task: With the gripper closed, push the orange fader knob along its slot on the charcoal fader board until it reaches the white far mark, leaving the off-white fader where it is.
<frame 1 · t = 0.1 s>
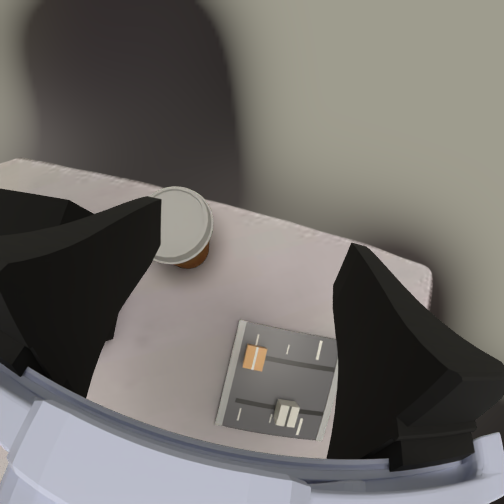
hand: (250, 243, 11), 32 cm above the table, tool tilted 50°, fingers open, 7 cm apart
fader board: (281, 383, 39), on the table
disposable coffee cup: (188, 248, 43), on the table
fader a: (285, 413, 35), point 3 cm above the table, slide at 6.0 cm
fader b: (254, 357, 36), point 3 cm above the table, slide at 0.0 cm
uninterruptible power supply: (52, 272, 41), on the table
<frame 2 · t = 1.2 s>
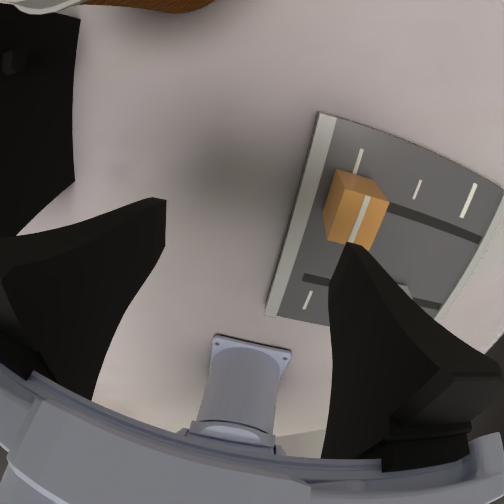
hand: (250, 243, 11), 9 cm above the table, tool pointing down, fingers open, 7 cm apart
fader board: (389, 248, 20), on the table
fader a: (390, 313, 19), point 3 cm above the table, slide at 6.0 cm
fader b: (352, 207, 16), point 3 cm above the table, slide at 0.0 cm
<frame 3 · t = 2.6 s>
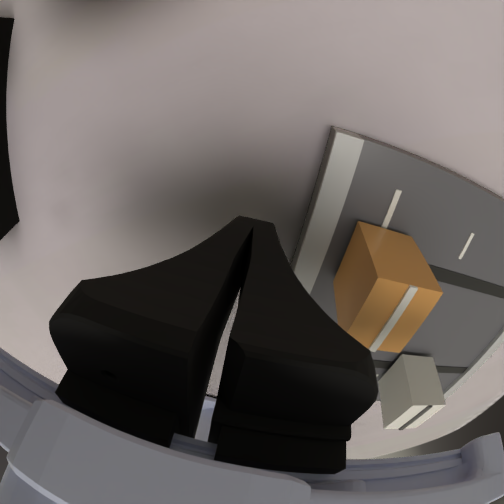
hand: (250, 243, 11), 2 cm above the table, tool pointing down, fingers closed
fader board: (416, 312, 14), on the table
fader a: (410, 393, 14), point 3 cm above the table, slide at 6.0 cm
fader b: (381, 287, 10), point 3 cm above the table, slide at 0.0 cm
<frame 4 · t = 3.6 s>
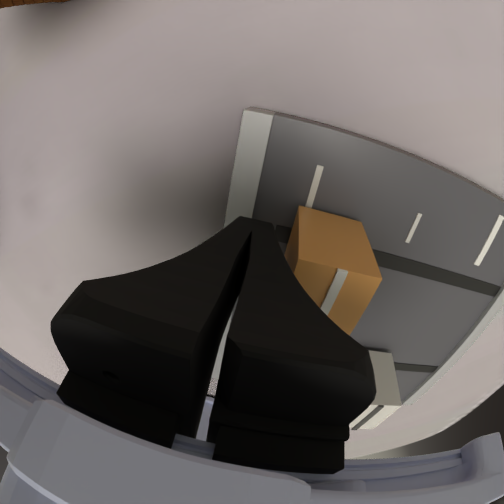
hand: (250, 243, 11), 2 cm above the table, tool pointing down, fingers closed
fader board: (369, 304, 14), on the table
fader a: (364, 391, 14), point 3 cm above the table, slide at 6.0 cm
fader b: (321, 274, 10), point 3 cm above the table, slide at 0.9 cm, touching gripper
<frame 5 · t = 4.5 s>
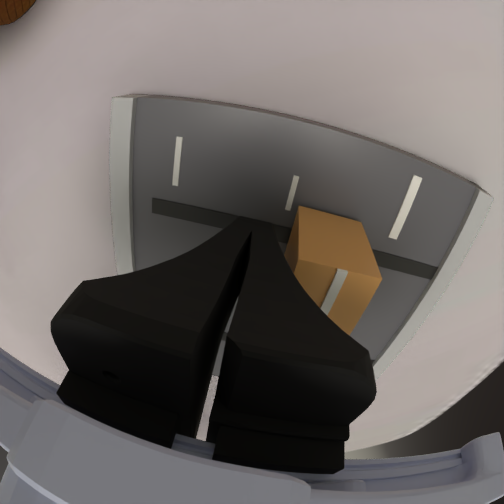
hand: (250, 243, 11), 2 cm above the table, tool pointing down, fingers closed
fader board: (275, 283, 15), on the table
fader b: (321, 274, 10), point 3 cm above the table, slide at 6.1 cm, touching gripper
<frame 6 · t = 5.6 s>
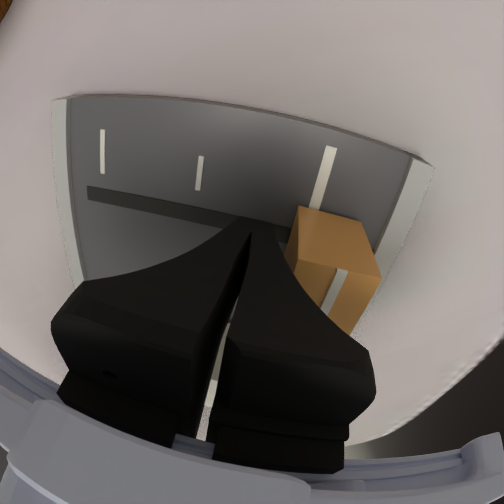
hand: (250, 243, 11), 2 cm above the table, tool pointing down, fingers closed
fader board: (206, 267, 15), on the table
fader a: (204, 363, 14), point 3 cm above the table, slide at 6.0 cm
fader b: (321, 274, 10), point 3 cm above the table, slide at 9.6 cm, touching gripper
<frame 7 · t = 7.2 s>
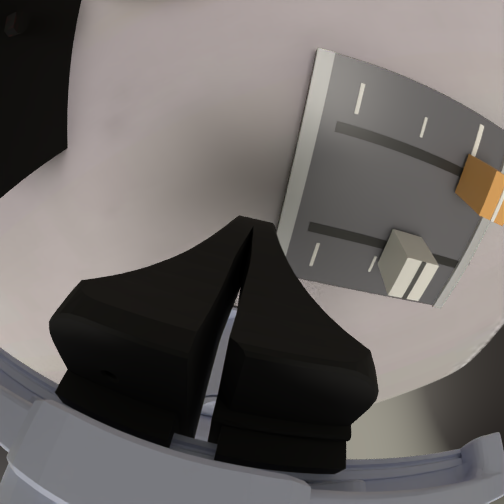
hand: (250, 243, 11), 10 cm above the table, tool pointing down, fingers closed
fader board: (399, 195, 18), on the table
fader a: (406, 265, 17), point 3 cm above the table, slide at 6.0 cm
fader b: (487, 188, 13), point 3 cm above the table, slide at 9.6 cm
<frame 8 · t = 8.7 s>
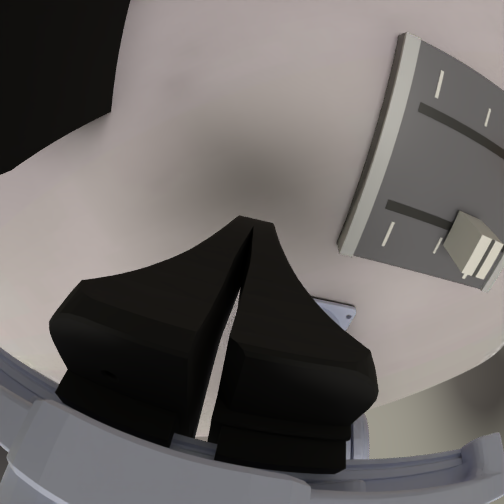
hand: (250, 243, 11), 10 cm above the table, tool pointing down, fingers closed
fader board: (462, 180, 17), on the table
fader a: (472, 245, 16), point 3 cm above the table, slide at 6.0 cm
uninterruptible power supply: (10, 47, 14), on the table
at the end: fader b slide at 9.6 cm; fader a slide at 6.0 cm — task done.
